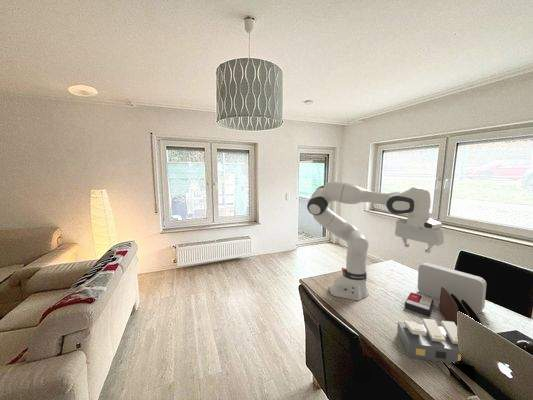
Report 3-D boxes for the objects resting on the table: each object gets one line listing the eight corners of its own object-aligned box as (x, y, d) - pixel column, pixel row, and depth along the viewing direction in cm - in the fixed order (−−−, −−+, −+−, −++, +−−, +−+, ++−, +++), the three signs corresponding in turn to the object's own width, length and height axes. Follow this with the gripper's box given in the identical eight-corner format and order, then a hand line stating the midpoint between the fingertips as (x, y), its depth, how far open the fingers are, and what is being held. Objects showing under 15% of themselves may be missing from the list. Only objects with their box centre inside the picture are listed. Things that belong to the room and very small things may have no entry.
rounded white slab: (485, 310, 114) (488, 277, 112) (481, 315, 110) (483, 281, 108) (422, 287, 138) (424, 260, 136) (417, 291, 134) (418, 263, 132)
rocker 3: (452, 343, 85) (453, 340, 84) (440, 323, 93) (441, 320, 92) (466, 345, 84) (467, 342, 83) (453, 324, 92) (453, 321, 91)
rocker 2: (431, 340, 86) (432, 337, 86) (422, 321, 94) (422, 318, 94) (444, 342, 85) (445, 339, 85) (433, 322, 93) (434, 319, 93)
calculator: (433, 298, 121) (430, 309, 110) (433, 305, 121) (429, 317, 110) (410, 291, 128) (404, 301, 117) (410, 298, 128) (404, 309, 117)
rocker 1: (412, 333, 87) (412, 329, 88) (404, 324, 96) (404, 320, 96) (425, 335, 86) (424, 330, 87) (415, 325, 95) (415, 321, 95)
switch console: (408, 357, 87) (409, 340, 86) (397, 333, 100) (397, 319, 99) (474, 367, 81) (476, 349, 81) (453, 341, 94) (455, 325, 93)
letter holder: (453, 334, 98) (455, 305, 96) (438, 309, 116) (440, 284, 115) (482, 340, 94) (485, 310, 93) (461, 313, 113) (464, 287, 111)
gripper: (392, 218, 112) (391, 244, 113) (439, 226, 94) (437, 257, 95) (400, 217, 115) (399, 242, 116) (446, 224, 97) (444, 254, 98)
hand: (416, 249), depth 106 cm, fingers open, 8 cm apart
